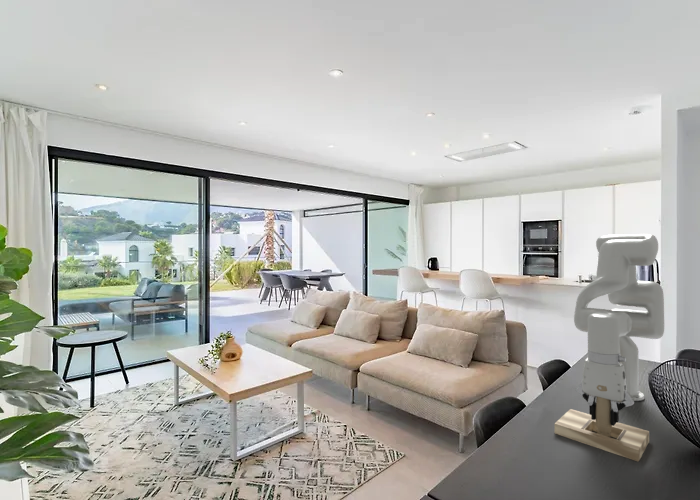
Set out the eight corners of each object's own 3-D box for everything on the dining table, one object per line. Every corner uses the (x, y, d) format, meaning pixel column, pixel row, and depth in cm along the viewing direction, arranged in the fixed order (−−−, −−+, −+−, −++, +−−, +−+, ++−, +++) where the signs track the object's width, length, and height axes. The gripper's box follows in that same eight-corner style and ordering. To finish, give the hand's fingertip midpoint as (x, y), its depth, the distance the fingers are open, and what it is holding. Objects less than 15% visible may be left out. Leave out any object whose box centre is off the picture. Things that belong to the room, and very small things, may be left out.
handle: (613, 442, 102) (613, 388, 102) (587, 433, 108) (587, 381, 107) (620, 437, 105) (619, 384, 105) (594, 428, 110) (594, 378, 110)
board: (570, 418, 120) (570, 408, 120) (649, 441, 105) (649, 430, 105) (554, 433, 110) (554, 423, 110) (638, 461, 96) (638, 449, 96)
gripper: (642, 360, 102) (643, 426, 103) (574, 348, 115) (575, 407, 115) (637, 367, 97) (637, 436, 98) (566, 354, 110) (567, 415, 110)
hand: (603, 420), depth 106 cm, fingers closed on handle, 4 cm apart
